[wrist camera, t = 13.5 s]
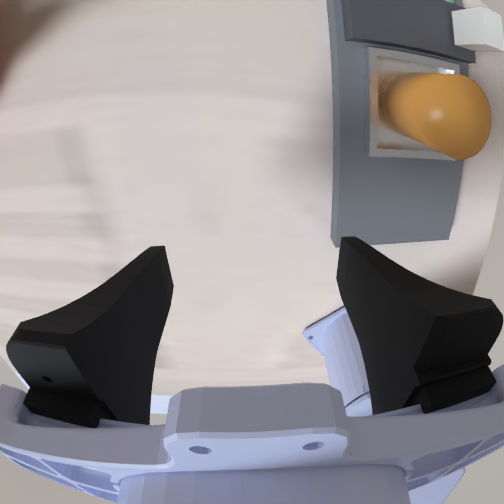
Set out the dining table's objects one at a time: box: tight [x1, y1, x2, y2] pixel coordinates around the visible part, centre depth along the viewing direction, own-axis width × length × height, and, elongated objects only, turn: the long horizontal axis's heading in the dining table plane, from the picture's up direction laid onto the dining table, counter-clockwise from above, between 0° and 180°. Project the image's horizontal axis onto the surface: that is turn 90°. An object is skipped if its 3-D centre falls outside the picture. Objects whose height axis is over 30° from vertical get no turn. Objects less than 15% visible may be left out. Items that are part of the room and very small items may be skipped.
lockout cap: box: [383, 72, 491, 160], centre depth 14 cm, size 4×4×6 cm
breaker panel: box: [327, 0, 475, 248], centre depth 16 cm, size 20×10×3 cm, turn 4°
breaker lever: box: [451, 6, 504, 52], centre depth 10 cm, size 2×2×3 cm
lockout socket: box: [362, 47, 460, 161], centre depth 16 cm, size 7×7×1 cm
